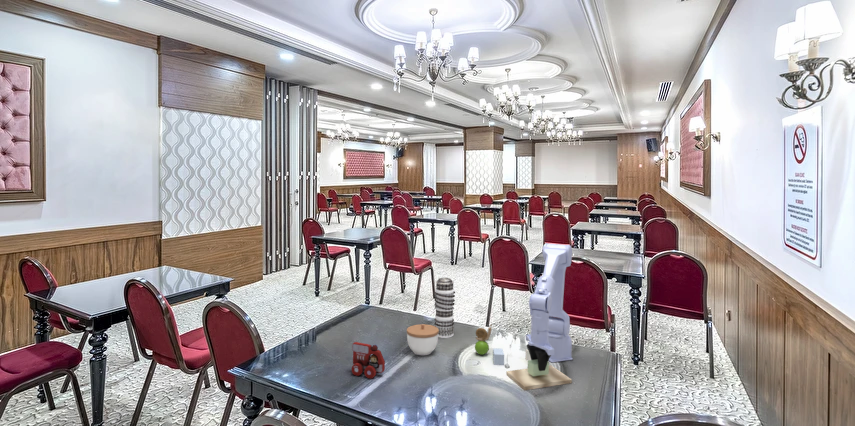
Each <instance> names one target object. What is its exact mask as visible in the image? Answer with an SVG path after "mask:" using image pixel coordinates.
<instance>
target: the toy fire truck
mask: <svg viewBox="0 0 855 426" xmlns="http://www.w3.org/2000/svg"><path fill="white" fill-rule="evenodd" d="M378 348H379V347H378V345H377V344H373V345H371V344H368V343H363V342H359V341H355V342H353V343H352V344H351V350H352V353H353V354H352V366H351V369H350V370H351V373H352V374H353V375H354V376H355V377H356V376H361V375H362V374H363V373H364V376H365V377H366V378H367V379H371V380H372V379H374V377H376V375H377V373H378V374H382V373H383V372H385V370H386V368H385V367H386V366H385V365H386V361H385V359H384V356H383V353H382V352H381V350H379V349H378Z"/></svg>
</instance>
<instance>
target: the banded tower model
mask: <svg viewBox="0 0 855 426" xmlns="http://www.w3.org/2000/svg"><path fill="white" fill-rule="evenodd" d="M435 283H436V285H435V286H436V287H435V291H434V299H433V300H434V310H435V318H434V326H435V327H437V328H438V329H439V333H438V338H440V339H449V338H452V337H454V335H455V334H454V333H455V331H454V329H455V327H454V324H455V322H454V321H455V319H454V310H455V307H454V305H455V303H454V302H455V299H454V298H455V297H456V295H455V294H456V291H455V290H454V283H455V282H454V280H452V279H451V278H450V277H439V278H438V279H437V280H436V281H435Z"/></svg>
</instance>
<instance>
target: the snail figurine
mask: <svg viewBox="0 0 855 426" xmlns="http://www.w3.org/2000/svg"><path fill="white" fill-rule="evenodd" d="M492 326H493V324H490V327H488V328H487V330H486V329H485V328H484V327H478V328H477V329H476V330H475V335H476V337H475V340H476V343H475V345H474V350H475V352H476V353H477V354H479V355H480V356H481V355H482V356H483V355H486V354H487V353H488V351H489V349H490V346H489V343H488V342H487V341H488V340H489V339H490V337H491V333H492V330H493V329H492Z"/></svg>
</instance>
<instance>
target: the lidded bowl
mask: <svg viewBox="0 0 855 426" xmlns="http://www.w3.org/2000/svg"><path fill="white" fill-rule="evenodd" d="M438 333H439V329H438V328H437V327H435V325H432V324H424V323H421V324H414V325H411V326H408V327H407V328H406V340H407V345H408V347H409V348H410V350H411V351H412V352H413V354H414V355H418V356H428V355H431V354H432V352H433V351H434V350H435V349H436V347H437V345H438V342H439V337H438Z"/></svg>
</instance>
